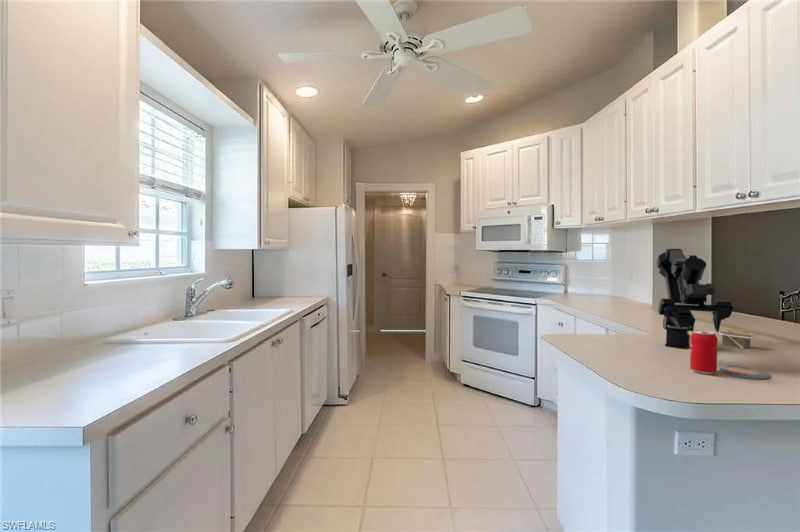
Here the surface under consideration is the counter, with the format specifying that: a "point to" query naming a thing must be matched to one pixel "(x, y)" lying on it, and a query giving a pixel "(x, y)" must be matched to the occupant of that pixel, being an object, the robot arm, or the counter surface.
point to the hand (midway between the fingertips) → (699, 330)
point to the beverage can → (703, 352)
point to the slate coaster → (744, 372)
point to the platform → (736, 338)
